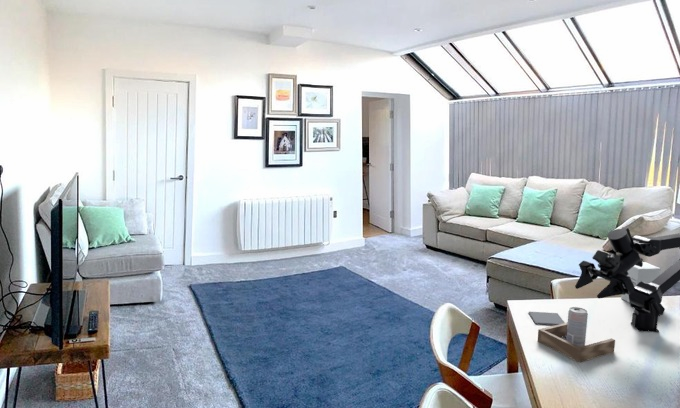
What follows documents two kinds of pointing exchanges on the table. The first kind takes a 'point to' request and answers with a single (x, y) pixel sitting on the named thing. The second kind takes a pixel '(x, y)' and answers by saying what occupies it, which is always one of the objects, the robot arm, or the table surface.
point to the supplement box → (642, 275)
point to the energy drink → (577, 326)
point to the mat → (546, 318)
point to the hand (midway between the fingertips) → (586, 292)
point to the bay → (579, 354)
